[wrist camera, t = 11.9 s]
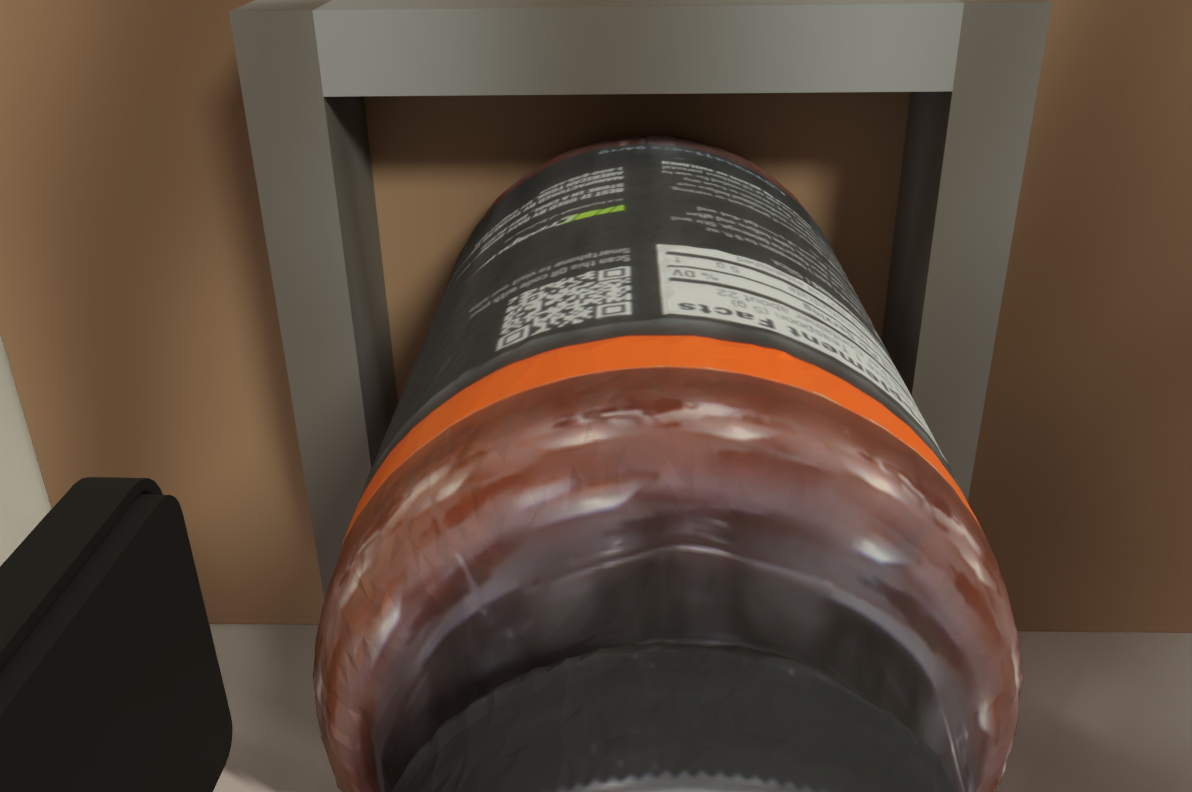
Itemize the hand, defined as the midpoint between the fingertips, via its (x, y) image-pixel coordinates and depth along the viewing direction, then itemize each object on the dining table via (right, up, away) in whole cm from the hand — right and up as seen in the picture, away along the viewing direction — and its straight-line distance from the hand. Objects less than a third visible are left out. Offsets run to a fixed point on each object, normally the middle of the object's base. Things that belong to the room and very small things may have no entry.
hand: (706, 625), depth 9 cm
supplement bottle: (0, +3, +7) cm, 8 cm away
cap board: (0, +4, +8) cm, 9 cm away
